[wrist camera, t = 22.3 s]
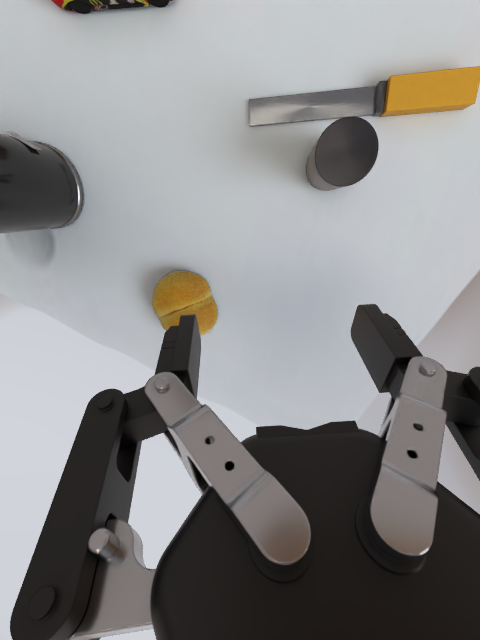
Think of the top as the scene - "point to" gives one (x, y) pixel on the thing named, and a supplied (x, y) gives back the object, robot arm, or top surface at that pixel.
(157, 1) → the race car
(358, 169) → the pepper mill
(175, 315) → the bread roll
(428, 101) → the knife
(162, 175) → the top surface
